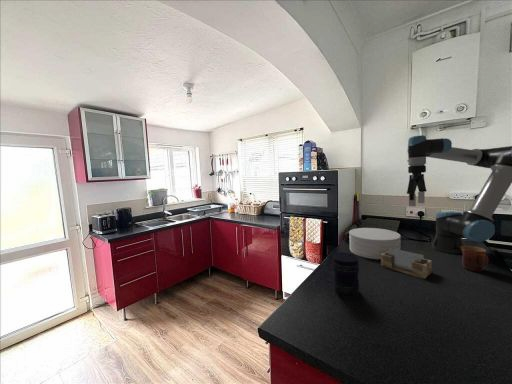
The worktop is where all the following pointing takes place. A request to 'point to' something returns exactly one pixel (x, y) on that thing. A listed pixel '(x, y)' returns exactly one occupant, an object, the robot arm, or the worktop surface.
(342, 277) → the storage jar
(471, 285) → the worktop surface
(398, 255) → the grey block
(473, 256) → the mug
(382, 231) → the plate stack
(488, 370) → the worktop surface
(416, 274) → the posts
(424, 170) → the robot arm
